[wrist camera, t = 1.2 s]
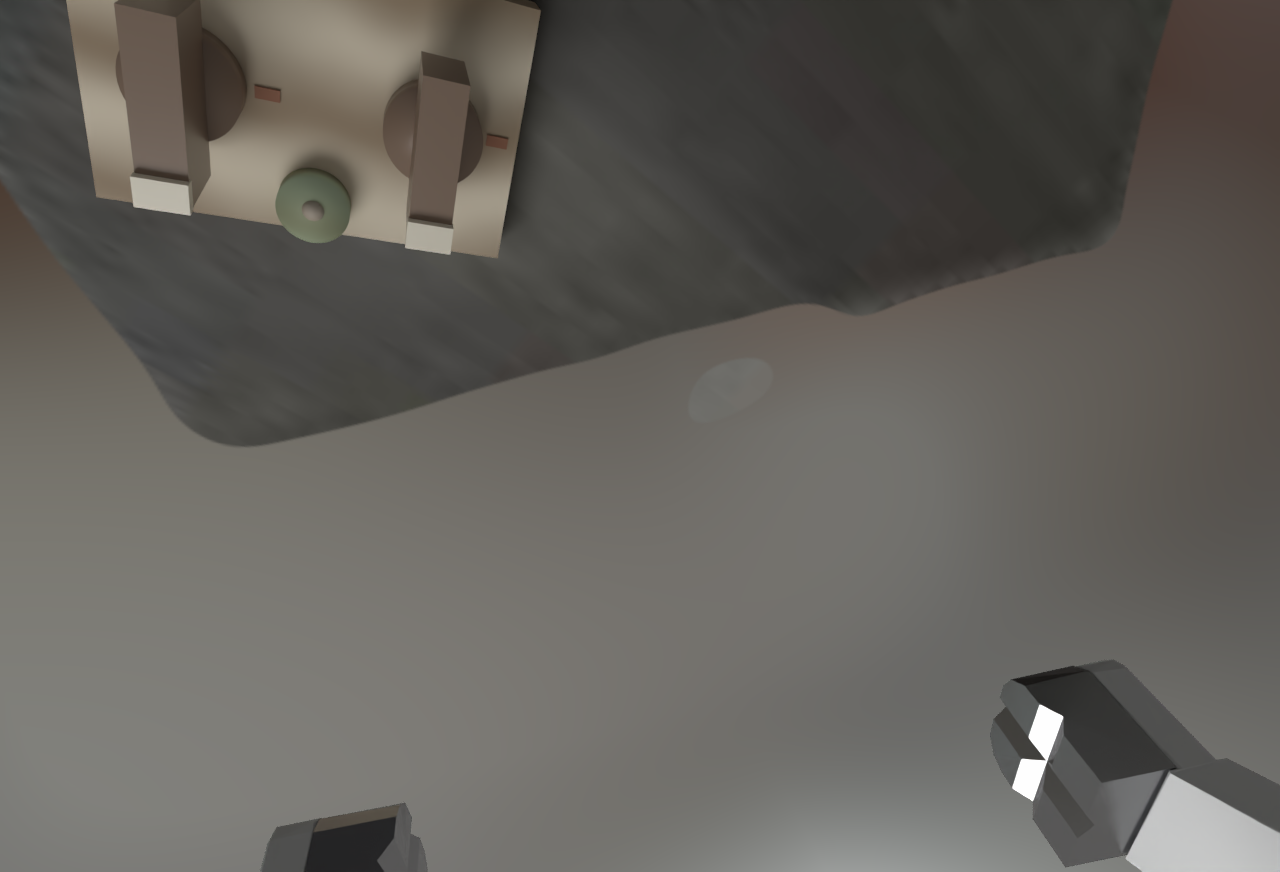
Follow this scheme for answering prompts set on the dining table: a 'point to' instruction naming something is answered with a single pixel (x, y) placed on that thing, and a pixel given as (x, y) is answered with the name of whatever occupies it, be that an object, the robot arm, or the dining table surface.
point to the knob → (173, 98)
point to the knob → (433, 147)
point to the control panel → (329, 109)
